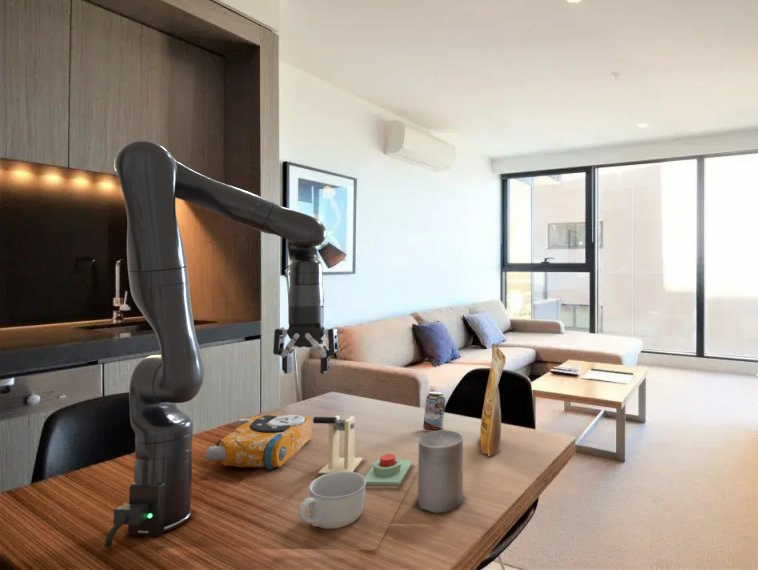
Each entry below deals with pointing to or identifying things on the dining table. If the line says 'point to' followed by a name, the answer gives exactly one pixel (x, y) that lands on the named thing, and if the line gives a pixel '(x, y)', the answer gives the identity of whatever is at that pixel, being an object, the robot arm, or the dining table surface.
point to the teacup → (334, 500)
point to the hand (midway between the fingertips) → (306, 372)
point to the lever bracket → (349, 459)
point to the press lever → (331, 422)
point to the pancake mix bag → (492, 406)
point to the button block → (388, 473)
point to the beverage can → (434, 411)
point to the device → (262, 441)
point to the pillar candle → (440, 471)
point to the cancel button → (387, 460)
